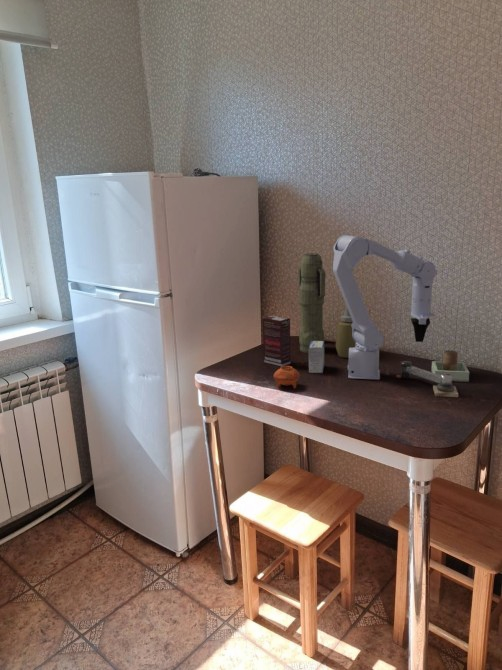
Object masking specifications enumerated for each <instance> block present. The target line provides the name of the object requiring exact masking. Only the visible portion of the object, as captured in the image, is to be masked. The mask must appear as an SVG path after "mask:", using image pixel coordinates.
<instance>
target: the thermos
mask: <svg viewBox="0 0 502 670" xmlns="http://www.w3.org/2000/svg"><path fill="white" fill-rule="evenodd" d="M324 269H325V268H323V260H322V256H321V255H320V254H319V253H305V254H303V255H302V258H301V261H300V267H299V269H298V295H299V299H298V300H299V301H298V303H299V305H300V330H299V334H298V335H299V337H298V339H299V341H298V342H299V351H300V352H301V353H306V354H309V347H310V344H311V341H324V342H325V331H324V329H323V327H324V326H323V322H324V321H323V319H324V318H323V316H324V313H323V309H324V308H323V307H324V306H323V305H324V303H325V296H326V272H325V270H324Z"/></svg>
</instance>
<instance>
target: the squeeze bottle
mask: <svg viewBox="0 0 502 670" xmlns="http://www.w3.org/2000/svg"><path fill="white" fill-rule="evenodd" d="M352 323H353V321H352V319H351V316H350V313H349V311H348V308H347V306H346V305H345V309H344V313H343V315H341V316H340V321H339V322H338V323H337V331H336V339H335V348H336V352H337V355H338V356H339V357H340V358H344V359H345V358H346V359H349V348H354V347H355V346H356V342H355V341H354V339H353V337H352V332H353V330H352V326H351V324H352Z"/></svg>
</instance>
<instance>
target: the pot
mask: <svg viewBox="0 0 502 670" xmlns="http://www.w3.org/2000/svg"><path fill="white" fill-rule="evenodd" d="M300 378H301V374H300V372H299V371H298V370H297V369H295V368H293V366H290V365H285V366H280V368H278V369H277V370H276V371H275V372H274V373H273V379H274V380H275V385H276V387H277V388H278V389H279V388H280V385H283V386H290V385H291V386H292V387H293V389H297V383H298V381H299V379H300Z"/></svg>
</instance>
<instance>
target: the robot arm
mask: <svg viewBox="0 0 502 670" xmlns="http://www.w3.org/2000/svg"><path fill="white" fill-rule="evenodd" d="M333 253H334V254H333V262H332V263H333V264H332V273H333V274H334V277H335V280H336V282H337V285H338V288H339V290H340V293H341V295H342V298H343V300H344V303H345V307H346V306H347V308H348V311H349V313H350V316H351V319H352V321H353V323H352V324H351V326H352V330H353V332H352V337H353V339H354V341H355V342H356V346H355V347H354V348H349V358H348V364H347V371H348V373H347V374H348V377H347V378H348V379H353V380H354V379H357V380H358V379H359V380H375V381H376V380H381V374H380V373H381V372H380V370H379V367H380V365H379V364H380V348H381V347H382V346H383V344H384V335H383V333H382V332H381V331H379V329H378V328H377V325H376V323H374V321H373V320H372V318H371V317H370V314H369V312H368V308H367V307H366V304H365V301H364V299H363V296H362V293H361V290H360V288H359V286H358V283H357V280H356V277H355V275H354V273H353V271H354V270H355V267H356V266H357V265H358V264H359V262H360V261H361V260H362V259H363V258H364V257H366V256H371V255H374V256H376V257H379V258H381V259H384V260H387V261H389V262H391V265H392V267H393V268H394V269H397V270H399V271H400V272H403V273H405V274H408V275H410V276H411V277H412V290H411V291H412V292H411V309H410V316H411V317H412V318H410V320H411V321H410V322H411V325H412V326H413V331H414V339H415V342H416V343H424V340H425V336H426V331H427V330H428V327H429V326H430V325H431V319H430V317H434V316H435V312H432V311H431V310H432V296H433V295H432V293H433V292H432V291H433V284H434V279H435V277H436V276H437V274H438V270H437V268H436V265H435V264H434V263H433V262H432V261H430V260H424V259H423V258H424V257H423V256H421V255H420V256H419V255H418V256H417V255H414V254H412V253H411V250H408V249H404V250H403V249H401V250H398V251H395V250H393V249H392V248H389V247H388V246H385V245H383V244H381V243H379V242H377V241H375V240H373V239H368V238H364V237H362V236H354V235H350V234H343V235H340V236H339V237H338V238H337V240H336V242H335V244H334V245H333Z"/></svg>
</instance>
